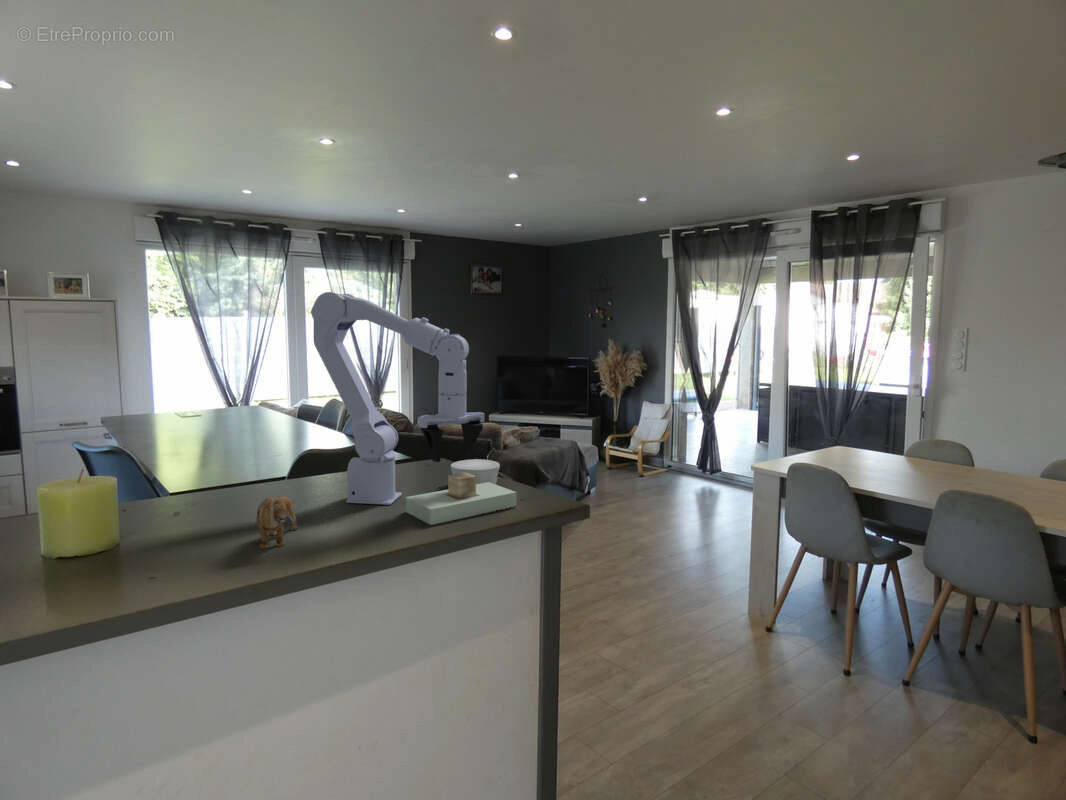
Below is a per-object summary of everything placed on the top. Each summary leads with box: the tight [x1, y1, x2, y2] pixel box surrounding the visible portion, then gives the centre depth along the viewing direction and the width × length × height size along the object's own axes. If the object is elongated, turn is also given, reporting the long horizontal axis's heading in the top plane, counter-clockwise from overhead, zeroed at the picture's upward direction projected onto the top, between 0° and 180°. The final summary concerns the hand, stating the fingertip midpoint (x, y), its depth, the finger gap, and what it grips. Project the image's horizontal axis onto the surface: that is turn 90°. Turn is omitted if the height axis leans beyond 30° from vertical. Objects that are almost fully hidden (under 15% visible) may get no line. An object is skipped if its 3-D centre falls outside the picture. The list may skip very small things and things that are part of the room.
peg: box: [447, 472, 476, 500], centre depth 125 cm, size 4×4×7 cm
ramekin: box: [450, 458, 501, 485], centre depth 143 cm, size 11×11×5 cm
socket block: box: [404, 482, 518, 526], centre depth 126 cm, size 20×10×3 cm, turn 129°
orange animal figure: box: [256, 496, 298, 549], centre depth 107 cm, size 15×5×9 cm, turn 15°
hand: (452, 458), depth 129 cm, fingers open, 7 cm apart
